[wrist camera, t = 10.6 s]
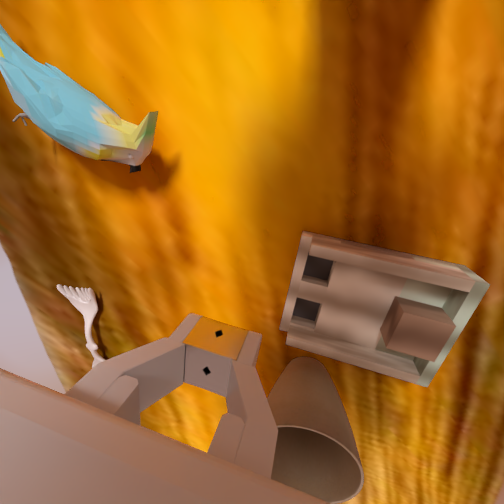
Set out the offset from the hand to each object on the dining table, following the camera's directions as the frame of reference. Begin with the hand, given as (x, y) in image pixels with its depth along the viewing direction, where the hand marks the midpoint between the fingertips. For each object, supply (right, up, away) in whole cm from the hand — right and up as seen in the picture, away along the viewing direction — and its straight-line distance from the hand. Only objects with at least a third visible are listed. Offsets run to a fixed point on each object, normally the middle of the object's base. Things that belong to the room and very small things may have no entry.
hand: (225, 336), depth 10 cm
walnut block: (+24, -6, +25) cm, 35 cm away
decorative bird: (-21, +28, +28) cm, 45 cm away
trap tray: (+18, -4, +29) cm, 34 cm away
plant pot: (+12, -19, +37) cm, 43 cm away
